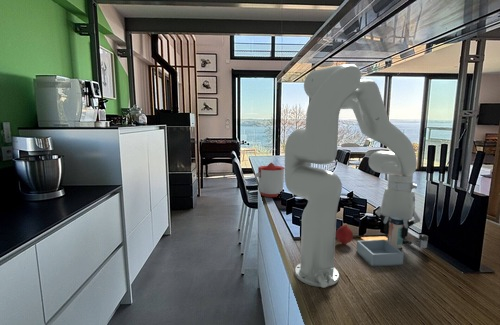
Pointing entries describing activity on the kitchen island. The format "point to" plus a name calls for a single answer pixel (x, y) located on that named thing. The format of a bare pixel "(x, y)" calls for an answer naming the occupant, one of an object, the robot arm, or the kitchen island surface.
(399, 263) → the tray
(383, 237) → the crank base
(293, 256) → the kitchen island surface
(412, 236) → the crank arm
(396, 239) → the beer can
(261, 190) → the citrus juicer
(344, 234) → the onion
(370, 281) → the kitchen island surface
